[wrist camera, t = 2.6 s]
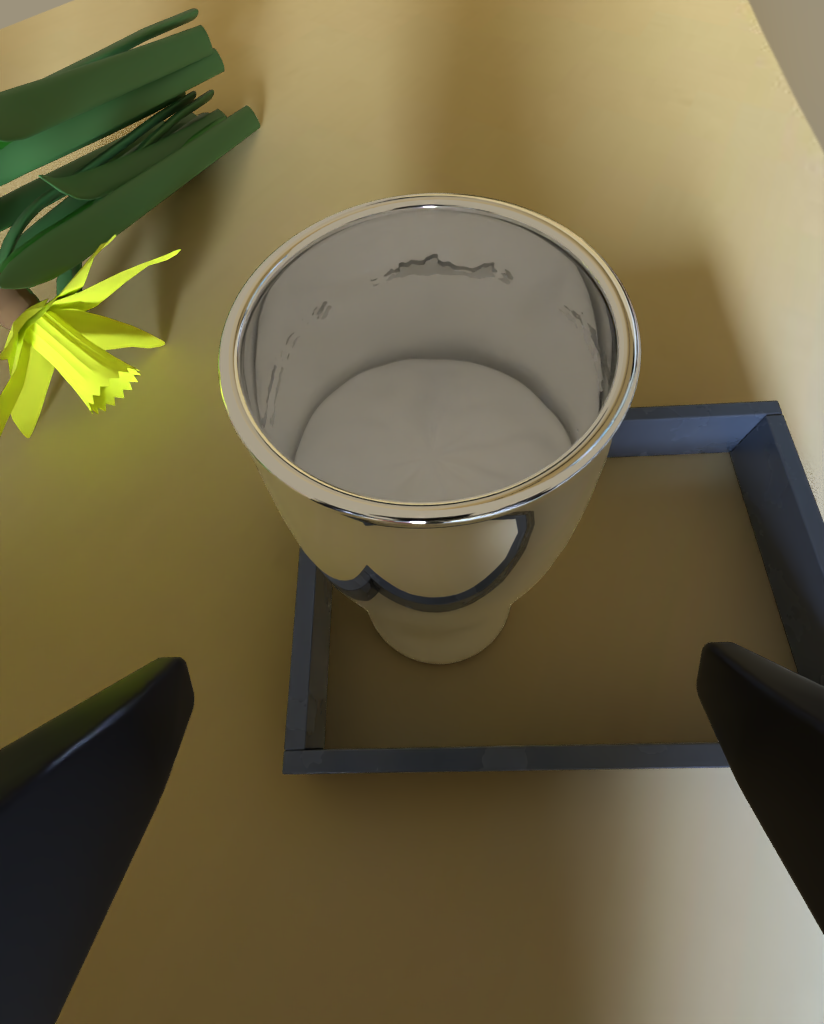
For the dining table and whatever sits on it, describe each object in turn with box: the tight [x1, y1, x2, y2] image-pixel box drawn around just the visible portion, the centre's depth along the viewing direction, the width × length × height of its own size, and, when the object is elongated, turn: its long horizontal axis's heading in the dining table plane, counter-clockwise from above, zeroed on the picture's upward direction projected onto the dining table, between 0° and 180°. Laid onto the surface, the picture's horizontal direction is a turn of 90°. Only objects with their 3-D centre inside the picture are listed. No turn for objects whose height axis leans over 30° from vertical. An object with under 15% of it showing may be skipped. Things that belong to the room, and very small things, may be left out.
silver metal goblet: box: [218, 193, 641, 664], centre depth 15 cm, size 7×7×15 cm
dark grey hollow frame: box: [282, 401, 824, 774], centre depth 20 cm, size 13×19×3 cm
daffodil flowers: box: [0, 9, 260, 438], centre depth 24 cm, size 17×15×35 cm
